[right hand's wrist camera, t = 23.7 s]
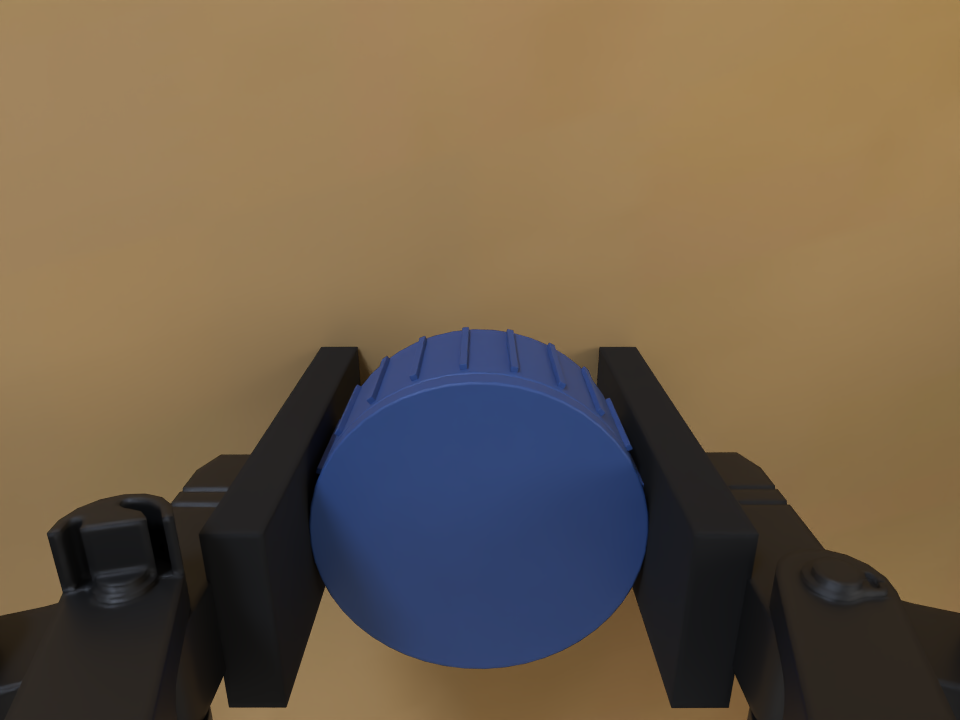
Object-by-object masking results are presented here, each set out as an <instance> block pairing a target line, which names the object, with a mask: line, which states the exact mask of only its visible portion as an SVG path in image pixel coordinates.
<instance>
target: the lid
mask: <svg viewBox="0 0 960 720" xmlns="http://www.w3.org/2000/svg"><path fill="white" fill-rule="evenodd" d="M630 450H632V446H631V444H630V442H629V439H628V437H627V435H626V432H625V430H624V428H623V426H622V423H621V421H620V419H619V417H618V414H617V412H616V410H615V408H614V405H613V403H612V401H611V399H610V398H608V399H606V400H605V398H604V396H603V394H602V393H601V391H600V390H599V388H598V387H597V386H596V384H595V383H594V382H593V380H592V378H591V376H590V373H589V371H588V369H587V368H586V367H583V368H582V369H581V368H580V367H579V366H578V365H577V364H576V363H574V362H573V361H572V360H570V359H569V358H568V357H567V356H565V355H564V354H562V353H560V352H559V351H557V350H556V349H555V345H553V344H551V343H549V344H548V345H546V344H544V343H541V342H539V341H537V340H534V339H532V338H529V337H525V336H522V335H518V334H515V333H514V332H513V330H509V329H507V332H503V331H496V330H474V329H473V330H469V327H464V328H462V331H453V332H449V333H445V334H440V335H436V336H433V337H430V338H427V339H426V337H425V336H424V337H421V338H419V342H416V343H414V344H413V345H411V346H409V347H407V348H405V349H403V350H401V351H399V352H398V353H396V354H395V355H394V356H392V357H391V358H388V356H386V357H385V358H383V359H382V361H381V364H380V367H378V368H377V369H376V370H375V371H374V372H373V373H372V374H371V375H370V376H369V378H368V379H367V380H366V381H365V382H364V384H363V385H362V386H359V385H357V386H356V387H355V389H354V391H353V393H352V395H351V398H350V400H349V402H348V404H347V406H346V409H345V411H344V413H343V415H342V418H341V419H339V421H338V423H337V425H336V427H335V430H334V432H333V434H332V436H331V438H330V441H329V443H328V445H327V447H326V449H325V452H324V454H323V456H322V458H321V461H320V463H319V465H318V467H317V470H316V473H317V474H320V475H319V478H318V480H317V483H316V485H315V488H314V493H313V497H312V501H311V505H310V518H309V530H310V542H311V547H312V552H313V556H314V560H315V563H316V566H317V568H318V571H319V574H320V576H321V579H322V581H323V582H324V584H325V586H326V588H327V589H328V591H329V593H330V595H331V596H332V598H333V599H334V600H335V601H336V603H337V604H338V605H339V607H340V608H341V609H342V611H343V612H344V613H345V614H346V615H347V616H348V617H349V618H350V619H351V620H352V621H353V622H354V623H355V624H356V625H358V626H359V627H360V628H361V629H363V630H364V631H365V632H367V633H368V634H369V635H370V636H372V637H373V638H375V639H377V640H378V641H380V642H382V643H383V644H385V645H386V646H388V647H390V648H392V649H394V650H397V651H399V652H401V653H403V654H405V655H408V656H411V657H414V658H417V659H419V660H422V661H425V662H430V663H434V664H439V665H443V666H449V667H457V668H469V669H489V668H502V667H509V666H515V665H520V664H525V663H529V662H532V661H536V660H539V659H543V658H545V657H548V656H550V655H553V654H555V653H558V652H560V651H562V650H564V649H566V648H568V647H570V646H572V645H573V644H575V643H577V642H579V641H581V640H582V639H583V638H585V637H586V636H588V635H589V634H590V633H592V632H593V631H595V630H596V629H597V628H598V627H599V626H600V625H602V624H603V623H604V622H605V621H606V620H607V619H608V618H609V617H610V616H611V615H612V614H613V613H614V612H615V610H616V609H617V608H618V607H619V606H620V605H621V603H622V602H623V601H624V599H625V598H626V596H627V595H628V593H629V591H630V590H631V588H632V587H633V585H634V583H635V580H636V578H637V576H638V574H639V572H640V570H641V566H642V563H643V560H644V556H645V553H646V547H647V540H648V527H649V520H648V508H647V502H646V497H645V493H644V490H643V487H644V483H643V481H642V479H641V477H640V474H639V472H638V470H637V467H636V465H635V463H634V461H633V458H632V456H631V454H630V452H629V451H630Z"/></svg>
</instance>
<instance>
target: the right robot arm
mask: <svg viewBox="0 0 960 720" xmlns="http://www.w3.org/2000/svg"><path fill="white" fill-rule="evenodd" d="M357 385H359V386H360V375H359V360H358V347H321V348H320V350H319V352H318V353H317V355H316V356H315V358H314V359H313V361H312V362H311V364H310V365H309V367H308V368H307V370H306V371H305V373H304V374H303V376H302V377H301V379H300V380H299V382H298V383H297V385H296V386H295V388H294V390H293V391H292V393H291V394H290V396H289V397H288V399H287V400H286V402H285V403H284V405H283V406H282V408H281V409H280V411H279V412H278V414H277V415H276V417H275V418H274V420H273V421H272V423H271V425H270V426H269V428H268V429H267V431H266V432H265V434H264V435H263V437H262V438H261V440H260V441H259V443H258V444H257V446H256V447H255V449H254V450H253V452H252V453H251V455H220V456H218V457H217V458H215V459H213V460H212V461H210V462H209V463H207V464H206V465H204V466H203V467H201V468H199V469H198V470H197V471H196V472H195V473H194V474H193V476H192V477H191V478H190V480H189V481H188V482H187V483H186V485H185V486H184V487H183V492H179V494H178V495H177V496H176V498H175V499H174V500H173V501H172V503H171V504H170V503H169V502H168V501H166V500H165V499H164V498H162V497H158V496H154V495H149V494H124V495H119V496H114V497H110V498H105V499H100V500H98V501H95V502H93V503H90V504H88V505H85V506H82V507H80V508H77V509H76V510H74V511H73V512H71V513H69V514H68V515H66V516H65V517H63V518H61V519H60V520H58V522H57V523H56V524H55V525H54V526H53V527H52V528H51V529H50V530H49V531H48V533H47V536H48V539H49V543H50V547H51V550H52V554H53V558H54V561H55V565H56V569H57V573H58V576H59V580H60V584H61V587H62V591H63V594H62V596H61V598H60V601H59V603H56V604H53V605H49V606H45V607H41V608H36V609H31V610H26V611H22V612H17V613H12V614H7V615H2V616H0V720H213V718H212V713H211V708H210V705H211V703H212V700H213V698H214V696H215V694H216V692H217V689H218V687H219V685H220V683H221V680H222V678H223V676H224V681H225V687H226V692H227V698H228V704H229V707H287V704H288V701H289V698H290V694H291V691H292V688H293V685H294V682H295V679H296V676H297V673H298V670H299V667H300V663H301V660H302V657H303V654H304V651H305V648H306V645H307V642H308V639H309V635H310V632H311V629H312V626H313V623H314V620H315V617H316V614H317V611H318V608H319V604H320V601H321V598H322V595H323V592H324V589H325V584H324V582H323V581H322V579H321V576H320V574H319V571H318V568H317V566H316V563H315V560H314V556H313V552H312V547H311V542H310V530H309V518H310V505H311V501H312V497H313V493H314V488H315V485H316V483H317V480H318V478H319V475H320V474H317V473H316V470H317V467H318V465H319V463H320V461H321V458H322V456H323V454H324V452H325V449H326V447H327V445H328V443H329V441H330V438H331V436H332V434H333V432H334V430H335V427H336V425H337V423H338V421H339V419H341V418H342V415H343V413H344V411H345V409H346V406H347V404H348V402H349V400H350V398H351V395H352V393H353V391H354V389H355V387H356V386H357ZM597 387H598V388H599V390H600V391H601V393H602V394H603V396H604V398H605V400H606V399H608V398H610V399H611V401H612V403H613V405H614V408H615V410H616V412H617V414H618V417H619V419H620V421H621V423H622V426H623V428H624V430H625V432H626V435H627V437H628V439H629V442H630V444H631V446H632V450H630V451H629V452H630V454H631V456H632V458H633V461H634V463H635V465H636V467H637V470H638V472H639V474H640V477H641V479H642V481H643V483H644V487H643V490H644V493H645V497H646V502H647V508H648V520H649V527H648V540H647V547H646V553H645V556H644V560H643V563H642V566H641V570H640V572H639V574H638V576H637V578H636V580H635V583H634V585H633V590H634V593H635V596H636V600H637V603H638V606H639V609H640V612H641V615H642V618H643V621H644V624H645V627H646V631H647V634H648V637H649V640H650V643H651V646H652V649H653V652H654V655H655V658H656V661H657V665H658V668H659V671H660V674H661V677H662V680H663V683H664V686H665V689H666V692H667V695H668V699H669V702H670V705H671V708H729V703H730V697H731V692H732V686H733V680H734V674H735V676H736V678H737V680H738V682H739V684H740V687H741V689H742V691H743V693H744V695H745V698H746V700H747V702H748V704H749V706H750V708H749V713H748V718H747V720H960V613H957V612H952V611H947V610H942V609H937V608H932V607H927V606H922V605H918V604H913V603H909V602H905V601H902V600H901V599H900V597H899V595H898V593H897V591H896V590H895V589H894V587H893V586H892V585H891V583H890V582H889V581H888V579H887V578H886V577H885V576H883V575H882V574H880V573H879V572H878V571H876V570H875V569H874V568H872V567H871V566H869V565H868V564H866V563H863V562H861V561H859V560H857V559H855V558H852V557H850V556H848V555H845V554H841V553H837V552H833V551H829V550H825V549H824V548H823V546H822V545H821V544H820V543H819V541H818V540H817V539H816V538H815V536H814V535H813V534H812V532H811V531H810V530H809V529H808V527H807V526H806V525H805V523H804V522H803V521H802V520H801V518H800V517H799V516H798V515H797V513H796V512H795V511H794V509H793V508H792V507H791V506H790V505H787V501H786V499H785V498H784V497H783V495H782V494H781V493H780V492H779V490H778V489H775V485H774V484H773V483H772V481H771V480H770V479H769V478H768V476H767V475H766V474H765V473H764V471H763V470H762V469H761V468H760V467H759V466H757V465H756V464H754V463H752V462H751V461H749V460H748V459H746V458H744V457H743V456H741V455H740V454H738V453H737V452H727V453H705V451H704V450H703V448H702V447H701V445H700V444H699V442H698V441H697V439H696V438H695V436H694V435H693V433H692V432H691V430H690V429H689V427H688V426H687V424H686V423H685V421H684V420H683V418H682V417H681V415H680V413H679V412H678V410H677V409H676V407H675V406H674V404H673V403H672V401H671V400H670V398H669V397H668V395H667V394H666V392H665V391H664V389H663V388H662V386H661V385H660V383H659V382H658V380H657V379H656V377H655V376H654V374H653V372H652V371H651V369H650V368H649V366H648V365H647V363H646V362H645V360H644V359H643V357H642V356H641V354H640V353H639V351H638V350H637V348H636V347H600V349H599V364H598V379H597Z"/></svg>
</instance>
